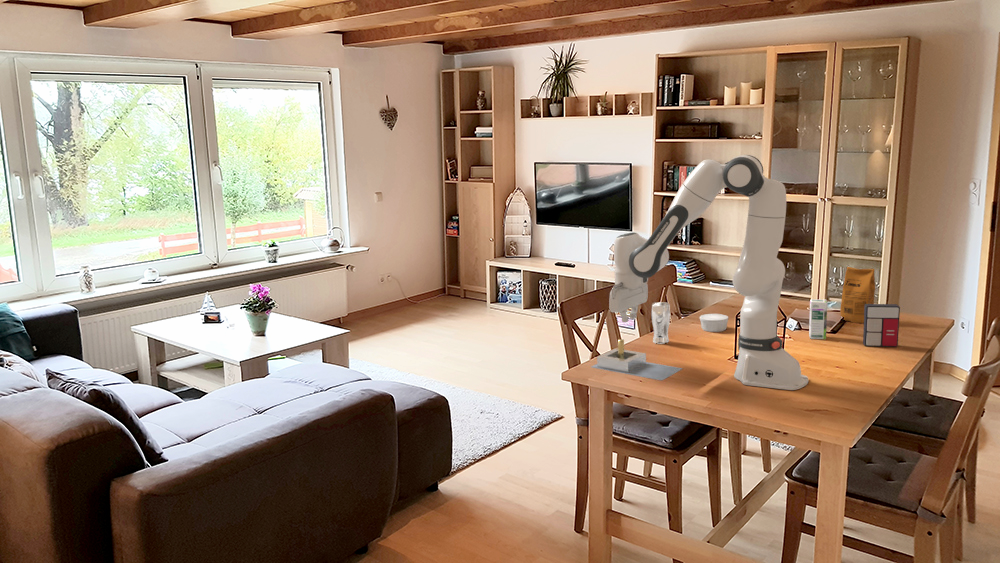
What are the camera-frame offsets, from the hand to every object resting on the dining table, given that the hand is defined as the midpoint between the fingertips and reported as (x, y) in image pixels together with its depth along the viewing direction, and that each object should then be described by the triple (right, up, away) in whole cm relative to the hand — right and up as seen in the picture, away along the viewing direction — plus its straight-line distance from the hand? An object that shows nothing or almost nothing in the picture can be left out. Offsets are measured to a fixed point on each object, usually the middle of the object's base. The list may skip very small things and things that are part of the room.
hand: (629, 320), depth 260 cm
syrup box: (+77, -8, +29) cm, 82 cm away
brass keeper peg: (-3, -15, -1) cm, 16 cm away
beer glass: (+17, -10, +31) cm, 37 cm away
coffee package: (+102, -3, +51) cm, 114 cm away
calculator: (+94, -10, +15) cm, 95 cm away
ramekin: (+42, -6, +47) cm, 63 cm away
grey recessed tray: (-3, -15, 0) cm, 16 cm away
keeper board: (+2, -17, -3) cm, 18 cm away
